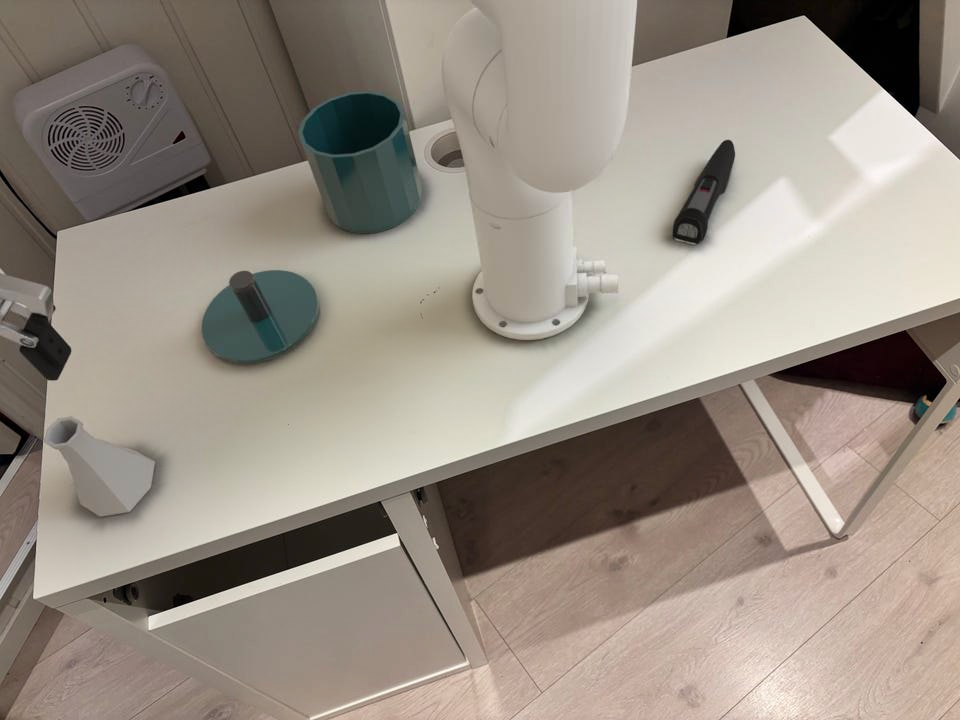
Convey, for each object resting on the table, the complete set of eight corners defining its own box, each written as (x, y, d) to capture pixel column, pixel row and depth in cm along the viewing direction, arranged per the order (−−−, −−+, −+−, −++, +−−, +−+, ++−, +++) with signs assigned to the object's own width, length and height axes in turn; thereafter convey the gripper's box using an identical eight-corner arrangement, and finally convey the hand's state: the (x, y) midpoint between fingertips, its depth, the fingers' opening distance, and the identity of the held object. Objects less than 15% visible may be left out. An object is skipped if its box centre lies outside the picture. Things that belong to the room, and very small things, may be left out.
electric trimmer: (741, 163, 90) (746, 141, 88) (701, 246, 82) (705, 225, 80) (710, 156, 91) (714, 135, 89) (668, 238, 84) (671, 217, 81)
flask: (134, 523, 70) (76, 472, 62) (69, 512, 72) (4, 462, 64) (168, 456, 74) (117, 401, 66) (105, 448, 76) (48, 392, 68)
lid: (329, 274, 87) (312, 232, 82) (308, 365, 79) (287, 325, 74) (223, 279, 89) (199, 238, 83) (191, 368, 81) (163, 329, 75)
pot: (426, 165, 97) (409, 87, 88) (416, 231, 89) (396, 153, 80) (336, 171, 98) (310, 95, 89) (319, 236, 91) (289, 160, 82)
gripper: (-338, 247, 44) (-120, 407, 57) (-73, 236, 42) (88, 405, 55) (-255, 165, 48) (-71, 332, 62) (-12, 151, 46) (123, 327, 60)
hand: (4, 366), depth 58 cm, fingers open, 9 cm apart
